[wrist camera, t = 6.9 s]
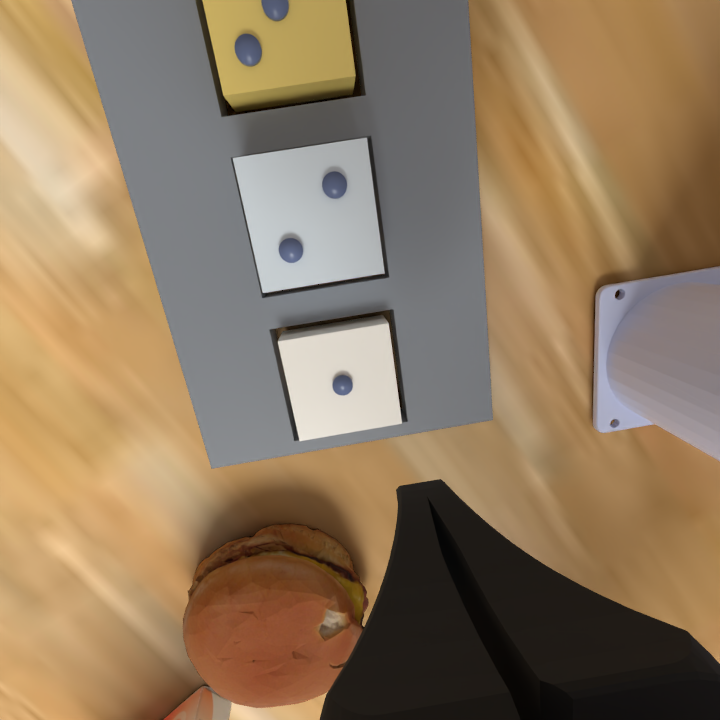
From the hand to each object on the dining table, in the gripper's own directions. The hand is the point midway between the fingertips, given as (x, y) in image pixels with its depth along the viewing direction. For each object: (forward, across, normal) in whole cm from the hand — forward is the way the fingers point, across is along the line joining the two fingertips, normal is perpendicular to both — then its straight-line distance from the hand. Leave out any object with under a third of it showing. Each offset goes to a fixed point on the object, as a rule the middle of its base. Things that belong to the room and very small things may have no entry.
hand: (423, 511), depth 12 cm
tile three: (+9, +2, -16) cm, 18 cm away
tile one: (+9, +2, -2) cm, 9 cm away
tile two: (+8, +2, -9) cm, 12 cm away
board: (+10, +2, -9) cm, 13 cm away
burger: (+10, +8, +11) cm, 17 cm away
